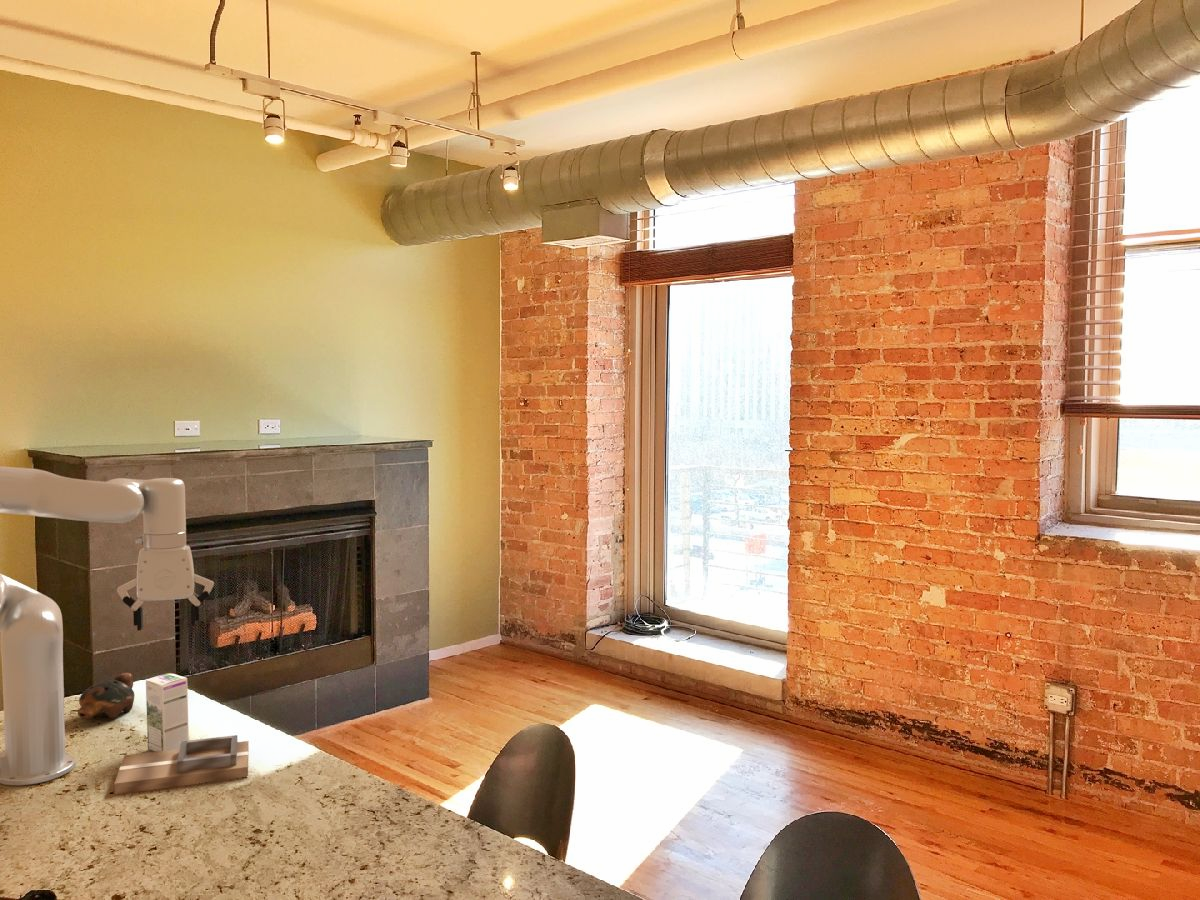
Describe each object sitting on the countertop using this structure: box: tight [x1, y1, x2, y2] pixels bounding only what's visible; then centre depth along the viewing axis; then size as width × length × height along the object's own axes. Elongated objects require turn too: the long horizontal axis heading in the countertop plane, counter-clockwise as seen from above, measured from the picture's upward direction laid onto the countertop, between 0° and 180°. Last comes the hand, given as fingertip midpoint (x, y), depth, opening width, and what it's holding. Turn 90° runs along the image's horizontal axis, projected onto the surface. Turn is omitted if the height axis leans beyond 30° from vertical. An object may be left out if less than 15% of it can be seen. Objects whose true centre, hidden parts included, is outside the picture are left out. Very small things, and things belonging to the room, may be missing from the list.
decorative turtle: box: [77, 672, 136, 721], centre depth 197 cm, size 10×15×8 cm, turn 175°
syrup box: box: [145, 672, 190, 752], centre depth 179 cm, size 6×6×14 cm
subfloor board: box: [113, 735, 249, 795], centre depth 169 cm, size 22×13×4 cm, turn 111°
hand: (167, 626), depth 178 cm, fingers open, 9 cm apart
